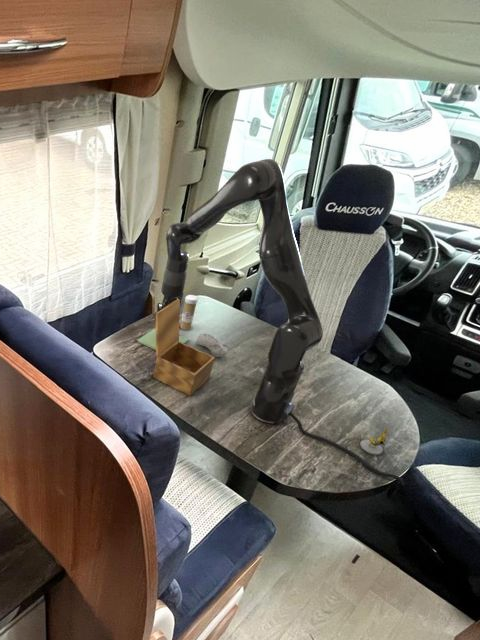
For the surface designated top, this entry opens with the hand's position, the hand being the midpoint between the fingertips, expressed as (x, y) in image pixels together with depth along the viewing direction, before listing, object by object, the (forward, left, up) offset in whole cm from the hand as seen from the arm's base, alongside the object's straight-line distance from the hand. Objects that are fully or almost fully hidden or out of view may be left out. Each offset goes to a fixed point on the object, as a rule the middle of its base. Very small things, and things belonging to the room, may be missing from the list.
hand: (166, 322), depth 164 cm
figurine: (-74, +6, -8) cm, 75 cm away
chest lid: (-9, +15, +8) cm, 19 cm away
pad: (0, 0, -8) cm, 8 cm away
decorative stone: (-16, -7, -8) cm, 19 cm away
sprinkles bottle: (-1, -15, -8) cm, 17 cm away
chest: (-17, +15, -8) cm, 24 cm away
